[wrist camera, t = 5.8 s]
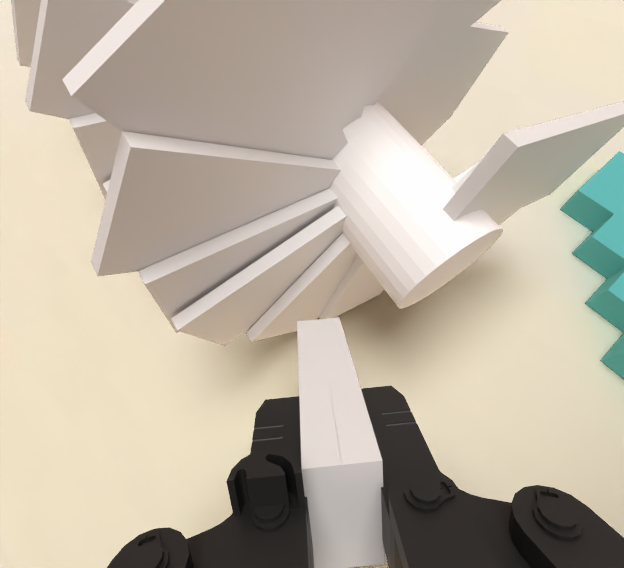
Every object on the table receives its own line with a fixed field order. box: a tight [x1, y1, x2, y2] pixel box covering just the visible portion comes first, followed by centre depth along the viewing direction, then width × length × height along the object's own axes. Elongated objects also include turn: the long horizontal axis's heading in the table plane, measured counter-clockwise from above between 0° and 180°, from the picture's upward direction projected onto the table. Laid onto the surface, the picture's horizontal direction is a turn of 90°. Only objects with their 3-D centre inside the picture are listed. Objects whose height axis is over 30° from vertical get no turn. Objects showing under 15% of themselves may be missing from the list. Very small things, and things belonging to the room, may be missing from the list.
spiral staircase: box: [11, 0, 624, 346], centre depth 16 cm, size 18×18×25 cm
